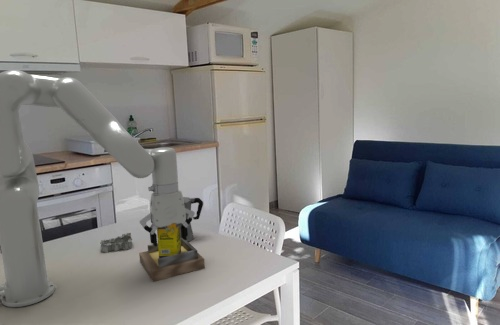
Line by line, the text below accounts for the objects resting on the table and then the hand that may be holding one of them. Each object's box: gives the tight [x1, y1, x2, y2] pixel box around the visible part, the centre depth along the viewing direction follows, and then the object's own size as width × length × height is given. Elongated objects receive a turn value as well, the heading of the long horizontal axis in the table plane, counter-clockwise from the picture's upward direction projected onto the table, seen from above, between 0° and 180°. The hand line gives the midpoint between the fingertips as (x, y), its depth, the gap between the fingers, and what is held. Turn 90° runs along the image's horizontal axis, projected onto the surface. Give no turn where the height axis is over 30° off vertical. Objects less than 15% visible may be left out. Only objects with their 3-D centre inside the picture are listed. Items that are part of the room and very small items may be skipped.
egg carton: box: [100, 232, 133, 253], centre depth 133 cm, size 11×8×4 cm
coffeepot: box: [180, 196, 204, 243], centre depth 138 cm, size 15×9×18 cm, turn 92°
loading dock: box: [138, 238, 206, 282], centre depth 118 cm, size 16×16×6 cm
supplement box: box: [156, 223, 181, 258], centre depth 117 cm, size 6×6×11 cm
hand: (169, 241), depth 117 cm, fingers open, 9 cm apart
